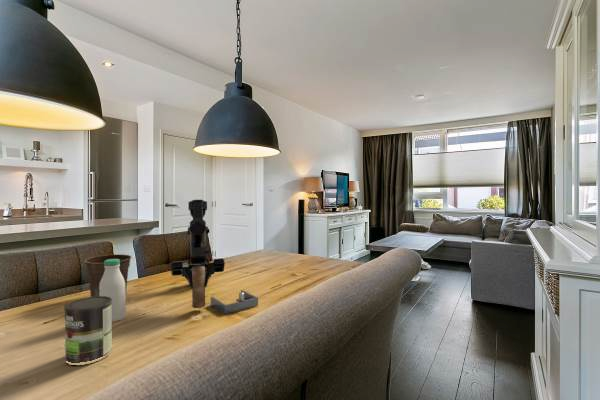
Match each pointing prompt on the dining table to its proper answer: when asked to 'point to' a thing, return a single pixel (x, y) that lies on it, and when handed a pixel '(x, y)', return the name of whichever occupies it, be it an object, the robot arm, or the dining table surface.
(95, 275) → the plant pot
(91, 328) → the coffee can
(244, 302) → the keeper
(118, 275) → the milk bottle
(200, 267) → the peg
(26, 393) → the dining table surface
